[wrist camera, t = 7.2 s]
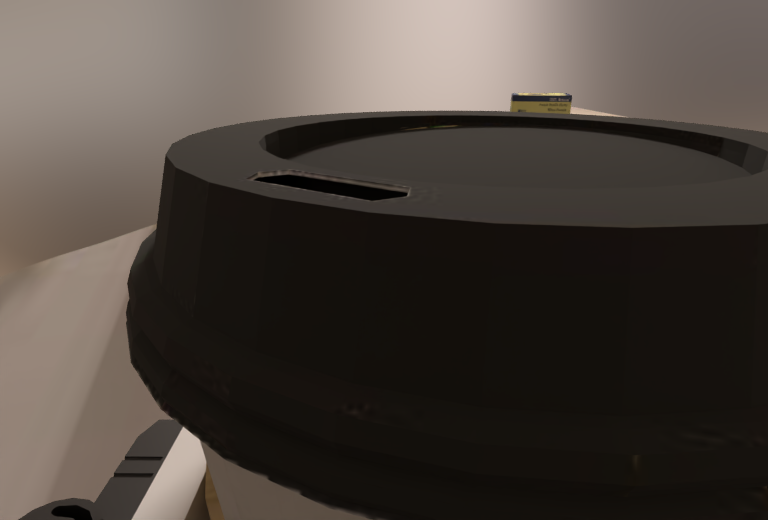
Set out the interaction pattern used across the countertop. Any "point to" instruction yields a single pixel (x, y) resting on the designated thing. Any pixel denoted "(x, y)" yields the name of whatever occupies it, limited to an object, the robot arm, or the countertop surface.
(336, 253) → the coffee cup
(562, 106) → the protein box
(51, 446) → the countertop surface
